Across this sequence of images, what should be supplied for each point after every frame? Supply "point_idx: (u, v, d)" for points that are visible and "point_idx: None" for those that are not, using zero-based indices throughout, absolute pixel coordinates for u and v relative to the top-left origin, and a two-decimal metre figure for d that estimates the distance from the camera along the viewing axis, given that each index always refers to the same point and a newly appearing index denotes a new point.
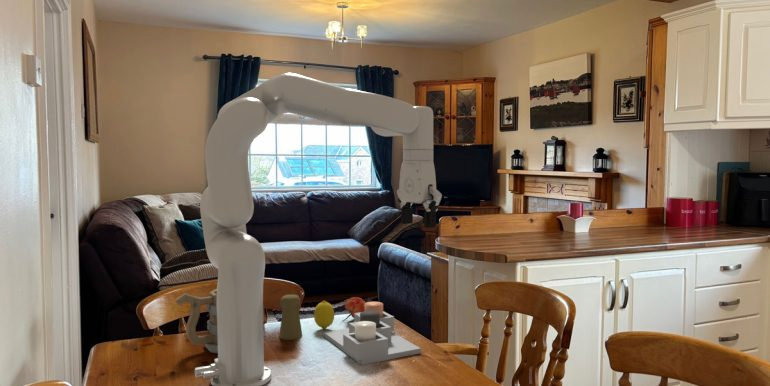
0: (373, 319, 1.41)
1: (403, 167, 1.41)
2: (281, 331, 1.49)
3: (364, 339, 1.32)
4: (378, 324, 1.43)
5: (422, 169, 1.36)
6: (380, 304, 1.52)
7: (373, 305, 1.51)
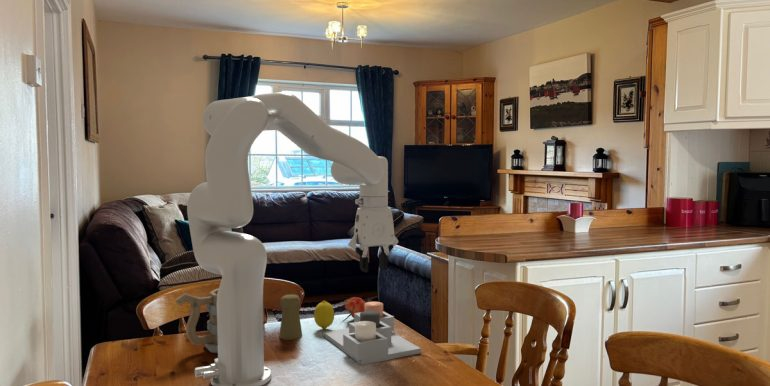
0: (373, 319, 1.41)
1: (369, 214, 1.47)
2: (281, 331, 1.49)
3: (364, 339, 1.32)
4: (378, 324, 1.43)
5: None
6: (380, 304, 1.52)
7: (373, 305, 1.51)
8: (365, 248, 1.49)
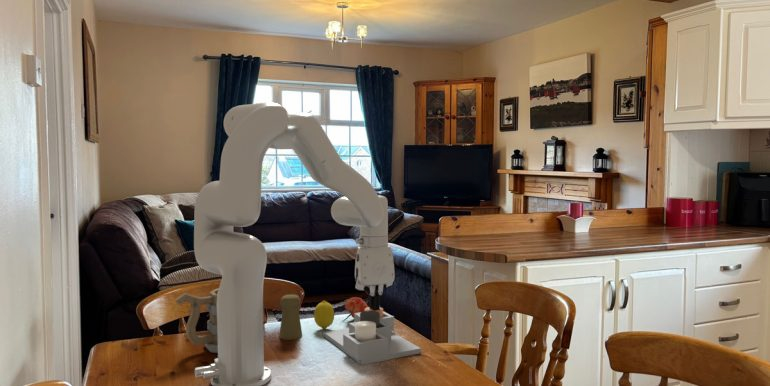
0: (373, 319, 1.41)
1: (369, 253, 1.48)
2: (281, 331, 1.49)
3: (364, 339, 1.32)
4: (378, 324, 1.43)
5: None
6: (380, 309, 1.52)
7: (373, 310, 1.51)
8: (371, 287, 1.50)
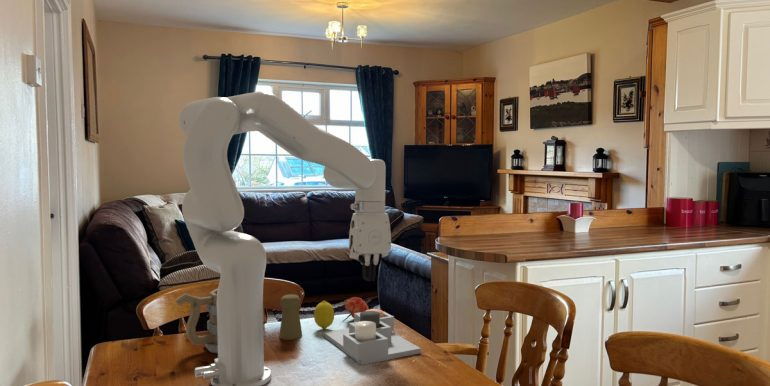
0: (373, 319, 1.41)
1: (365, 219, 1.39)
2: (281, 331, 1.49)
3: (364, 339, 1.32)
4: (378, 324, 1.43)
5: None
6: (380, 312, 1.52)
7: None
8: (366, 256, 1.41)
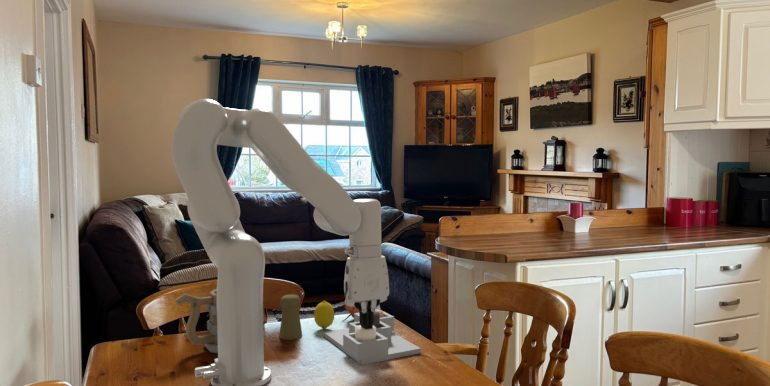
0: None
1: (360, 265, 1.30)
2: (281, 331, 1.49)
3: None
4: (378, 324, 1.43)
5: None
6: (380, 312, 1.52)
7: None
8: (362, 303, 1.32)
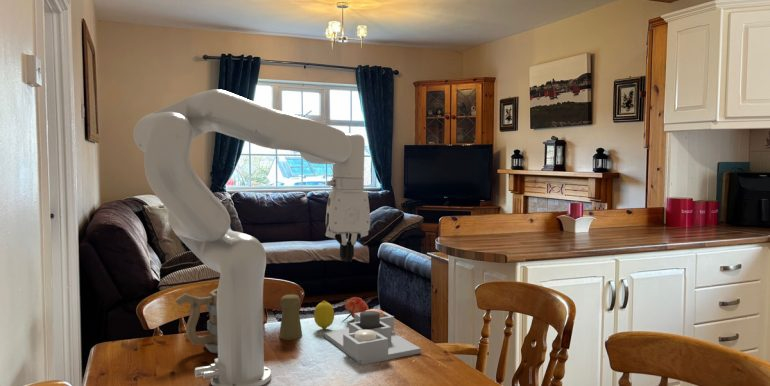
0: (373, 319, 1.41)
1: (341, 196, 1.33)
2: (281, 331, 1.49)
3: None
4: (378, 324, 1.43)
5: None
6: (380, 312, 1.52)
7: None
8: (343, 235, 1.35)
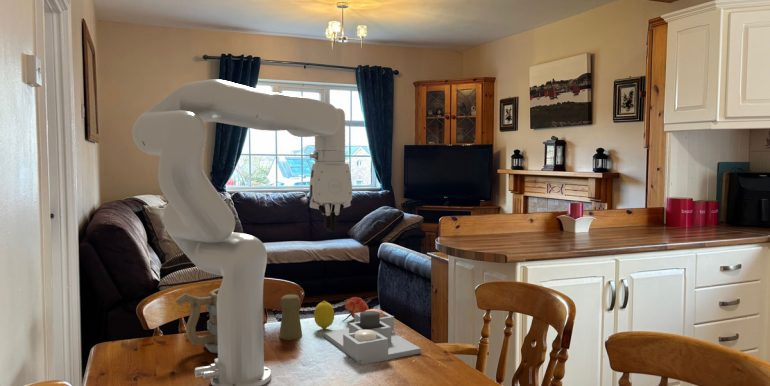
0: (373, 319, 1.41)
1: (324, 168, 1.38)
2: (281, 331, 1.49)
3: None
4: (378, 324, 1.43)
5: (349, 170, 1.42)
6: (380, 312, 1.52)
7: None
8: (326, 206, 1.40)
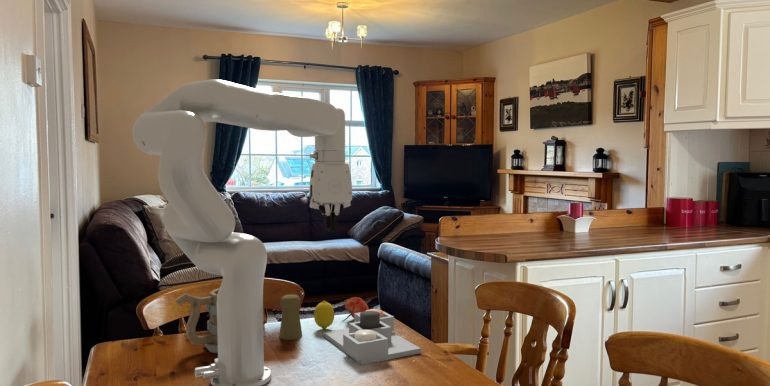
0: (373, 319, 1.41)
1: (324, 168, 1.38)
2: (281, 331, 1.49)
3: None
4: (378, 324, 1.43)
5: (349, 170, 1.42)
6: (380, 312, 1.52)
7: None
8: (326, 206, 1.40)
